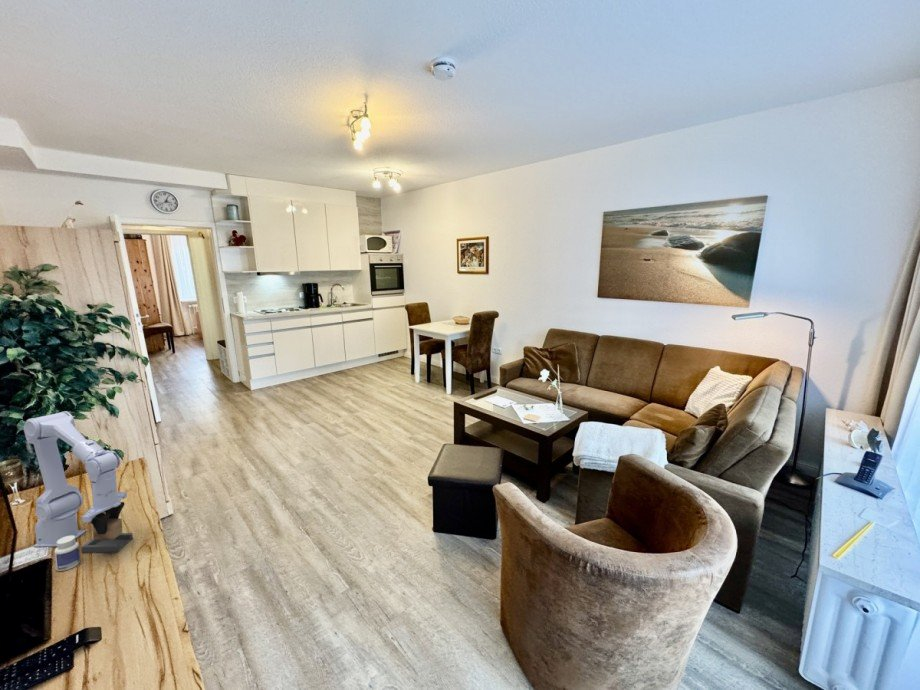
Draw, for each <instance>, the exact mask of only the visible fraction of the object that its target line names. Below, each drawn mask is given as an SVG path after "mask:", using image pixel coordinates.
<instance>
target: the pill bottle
mask: <svg viewBox="0 0 920 690" xmlns="http://www.w3.org/2000/svg"><path fill="white" fill-rule="evenodd" d="M76 539H77V538H76ZM76 539H75V536H73V535H71V536H66V537H63V538H61V539H59V540H58V541H57V546H56V548H54V553H53V554H54V562H55V570H56V571H58V572H64V571H67V570H71V569H73V568H75V567H76V566H78V565H79V564H80V562H81V554H80V552H81V551H80V544H79V542H78V541H76Z"/></svg>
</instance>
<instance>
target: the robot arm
mask: <svg viewBox="0 0 920 690" xmlns="http://www.w3.org/2000/svg"><path fill="white" fill-rule="evenodd" d="M23 433H24V436H25V439H26V442H27V444H32V445H33V447H34V450H35V453H36V454H35V455H36V458H37V461H38V462H37V463H38V466H39V471H40V473H41V479H42V481H43V485H44V488H45V490H44V491H43V493H42V494H40V496H39V497H37V498H36V499H35V505H36V506H35V515H36V516H37V518H38V519H37V522H36V523H35V525H34V526H35V527H34V532H35V542H36V543H35V544H34V545H33V547H35V548H40V547H42V548H43V547H46V548H47V547H57V541H58V540H59V539H61V538H63V537H66V536H71V535H73V536H75V539H78V538H79V537H80V536H82V535H83V534H85V533H86V530H84V529H83V530H81V529H78V526H79V525H78V516H77V515H78V514H77V512H78V511H79V510H80V508H81V507H82V505H83V503H84V497H83V495H82V493H81V492H80V489H79V487H78V486H77V485H71V484H68V481H67V477H66V473H65V470H64V466H63V461H62V458H61V455H60V450H59V447H58V443H57V441H58V439H60V440H62V441H63V442H64V443H66V444H67V445H69V446H71V447H72V450H71V451H72V452H71V453H72V454H73V455H74V456H76V458H78V459H79V460H80V461H81V462H82V463H83V464H84V468H85V471H86V473H87V475H88V480H89V481H91V493H92V506H91V507H90V509H88V511H87V512H86V513H85V514H83V515H82V516H81V523H90V524H91V525H92V527H93V526H94V528H95V529H96V531H97V534H105V533H106V531H107V522H108V519H120V514H121V512H122V510H123V508H124V506H125V502H124V501H121V500H123V499H126V498H127V497H128V495H127V494H128V493H127V491H119V492H118V485H117V470H116V469H118V468H119V467H120V465H121V458H120V456H119V455H118V454H117V452H116V451H113V450H111V451H110V450H108V449H107V450H105V449H104V448H103V447H102V446H101V445H100V444H98V442H96V441H95V440H94V439H92V438H91V439H86V438H85V437H84V435H83V434H82V432H80V431H79V430H78V429H77V427H76V426H75V418H74V416H73V414H72V413H70V412H69V411H65V410H64V411H61V412H56V413H53V414H47V415H42V416H39V417H34V418H33V417H32V418H28V419H26V421H25V423H24V424H23Z"/></svg>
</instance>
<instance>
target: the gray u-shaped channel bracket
mask: <svg viewBox="0 0 920 690" xmlns="http://www.w3.org/2000/svg"><path fill="white" fill-rule="evenodd" d="M133 534H134V533H133V532H127V533H126V532H125V533H123V532H122V533H121V534H120V535H119V536H117V537H116V538H115V539H93V538H91V539H90V540H89V541H87V542H86V543H84V544H83V545H82V546H81V547H80V552H81V554H109V553H110V554H111V553H114V554H115V553H118V552H119V551H121V550H122V549H123V548H124V547H125V546H126V545H127V544H129V543H130V542H131V541H133V539H134V538H133V537H134V536H133Z"/></svg>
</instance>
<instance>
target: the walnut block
mask: <svg viewBox="0 0 920 690" xmlns="http://www.w3.org/2000/svg"><path fill="white" fill-rule="evenodd" d="M122 520H123V518H118V519H108V522H107V531H106V533H105V534H97V531H96V529H95V528H94V526H93V525H92V536H93V538H92V539H115V538H116V537H117V536H119V535H120V534H121V533H123V521H122Z"/></svg>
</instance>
